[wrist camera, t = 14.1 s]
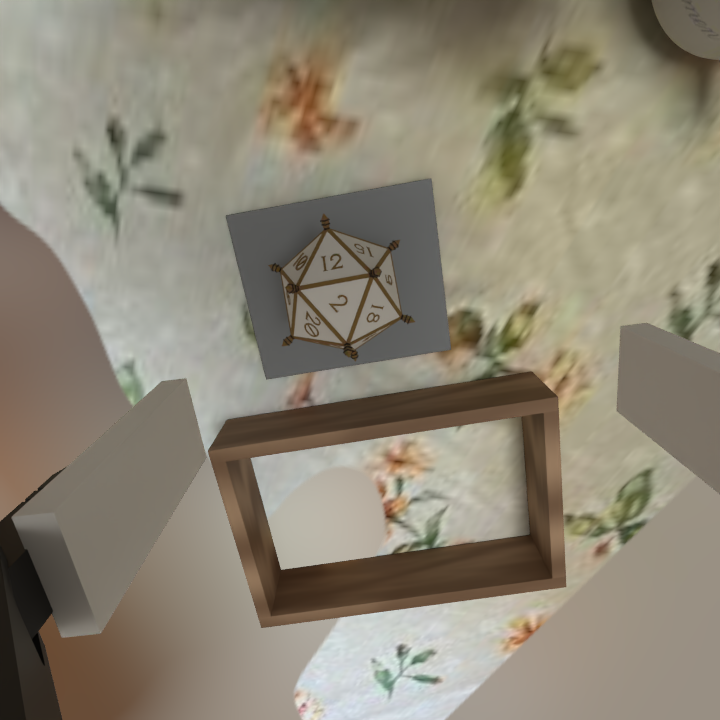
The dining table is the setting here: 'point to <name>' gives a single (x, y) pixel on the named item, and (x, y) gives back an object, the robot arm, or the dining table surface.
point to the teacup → (691, 25)
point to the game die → (340, 291)
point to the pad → (362, 220)
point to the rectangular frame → (411, 569)
